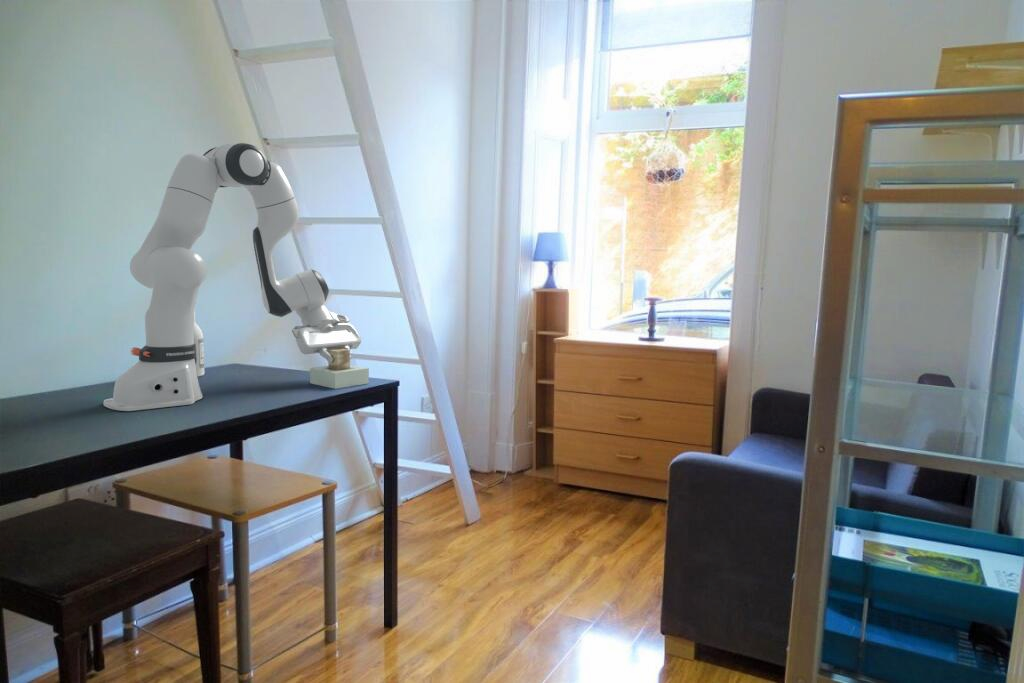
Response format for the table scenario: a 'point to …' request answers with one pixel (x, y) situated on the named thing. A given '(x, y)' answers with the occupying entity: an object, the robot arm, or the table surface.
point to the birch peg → (339, 359)
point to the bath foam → (199, 348)
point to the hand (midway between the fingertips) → (340, 360)
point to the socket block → (339, 377)
